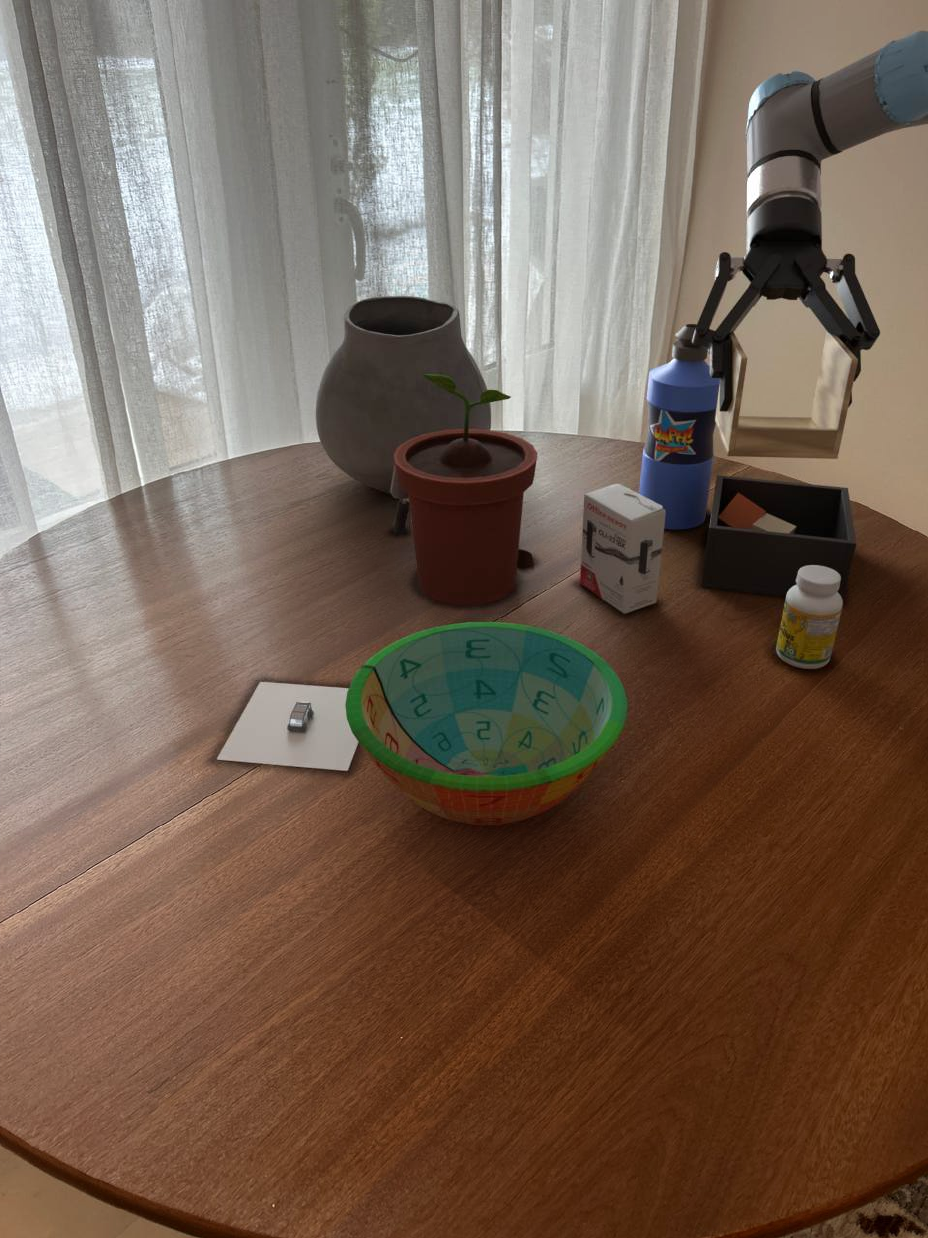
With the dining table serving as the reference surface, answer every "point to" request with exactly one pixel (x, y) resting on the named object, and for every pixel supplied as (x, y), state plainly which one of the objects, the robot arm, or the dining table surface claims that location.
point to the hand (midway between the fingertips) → (784, 407)
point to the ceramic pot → (394, 384)
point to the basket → (779, 536)
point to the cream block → (773, 525)
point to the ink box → (622, 547)
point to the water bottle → (680, 434)
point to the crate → (792, 433)
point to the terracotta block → (740, 513)
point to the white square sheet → (293, 728)
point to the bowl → (486, 718)
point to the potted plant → (464, 506)
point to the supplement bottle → (810, 618)
